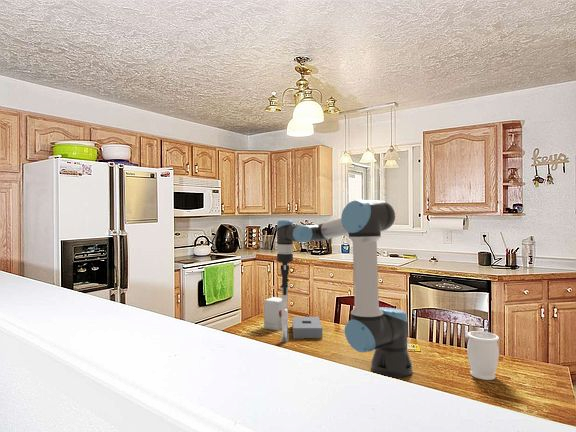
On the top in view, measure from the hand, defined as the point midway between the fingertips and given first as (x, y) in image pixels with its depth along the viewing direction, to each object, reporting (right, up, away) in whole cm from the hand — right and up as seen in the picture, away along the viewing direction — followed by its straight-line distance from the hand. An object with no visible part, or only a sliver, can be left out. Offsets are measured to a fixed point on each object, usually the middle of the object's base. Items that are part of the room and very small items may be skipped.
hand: (284, 298), depth 176 cm
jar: (+73, -20, -38) cm, 85 cm away
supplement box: (-5, -20, +22) cm, 30 cm away
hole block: (+11, -20, +14) cm, 27 cm away
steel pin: (0, -20, 0) cm, 20 cm away
